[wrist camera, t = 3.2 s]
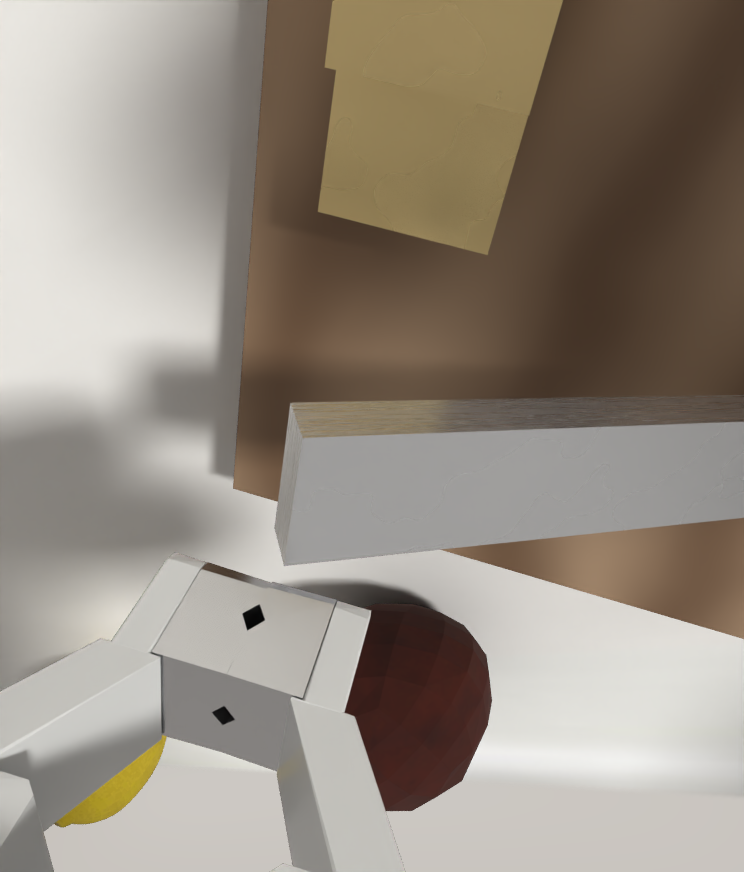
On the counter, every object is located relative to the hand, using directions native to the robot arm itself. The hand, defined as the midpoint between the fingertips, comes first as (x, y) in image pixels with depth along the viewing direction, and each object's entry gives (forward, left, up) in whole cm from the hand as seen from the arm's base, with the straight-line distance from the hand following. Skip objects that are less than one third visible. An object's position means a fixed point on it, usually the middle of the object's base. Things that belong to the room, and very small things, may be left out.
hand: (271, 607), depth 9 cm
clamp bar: (-6, 0, -7) cm, 9 cm away
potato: (-3, +15, -13) cm, 21 cm away
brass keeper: (0, -6, -11) cm, 12 cm away
